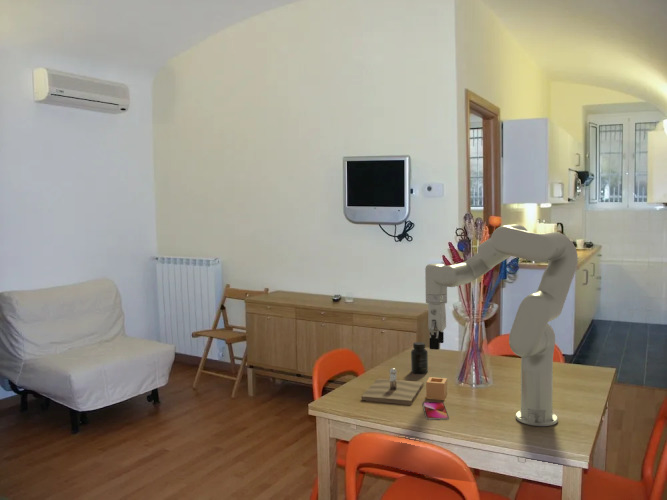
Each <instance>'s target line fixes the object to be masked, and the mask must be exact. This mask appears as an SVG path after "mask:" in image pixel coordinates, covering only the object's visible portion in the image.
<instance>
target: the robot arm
mask: <svg viewBox="0 0 667 500" xmlns="http://www.w3.org/2000/svg"><path fill="white" fill-rule="evenodd" d="M577 251H578V250H577V248H576V246H575V245H574V242H573V241H572V240H571V239H570V237H568V236H567V235H565V234H564V233H561V232H558V231H547V232H543V233H537V232H532V231H528V229H527V228H526V227H524V226H523V225H521V224H517V223H516V224H515V223H514V224H506V225H500V226H499V227H497V228H496V229H495V230H494V231H493V232H492V233H491V237H489V238H488V239H487V240H485V241H483V242H481V243H480V244H479V245H478V246H477V253H475V254H474V255H473V256H471V257H470V258H468V259H467V260H465V261H463V262H460V263H453V264H450V265H446V264H443V263H428V264H427V265H426V266H425V268H424V270H425V271H424V272H425V277H424V279H425V281H424V282H425V304H428V310H427V311H428V312H427V313H428V315H427V316H428V317H427V319H428V322H427V323H428V331H429V350H436V351H437V350H439V349H440V344H443V343H444V342H445V341H444V339H445V338H444V335H445V333H444V331H445V329H446V328H447V313H446V312H447V311H446V304H448V288H455V287H458V286H463V285H468V284H469V283H472V282H474V281H476V280H477V279H479V278H480V277H483V276H484V275H485V274H486V273H488V272H489V271H491V270H492V269H493V268H494V267H495V266H497V265H499V264H500V263H502V262H503V261H505V260H506V259H508V258H510V257H515V258H519V259H523V260H525V261H531V262H536V263H544V262H548V263H547V266H546V268H545V270H544V272H543V273H542V276H541V280H540V282H539V284H538V285H539V286H538V287H537V289H536V291H534V293H530V294H528V295H527V296H525V297H524V298H523V299H522V301H521V302H520V304H519V306H518V309H517V311H516V313H515V318H514V321H513V323H512V327H511V329H510V331H509V337H508V344H509V348H510V349H511V351H512V353H514V354H515V355H516V356H518V357H521V358H520V359H521V361H520V410H518V411H517V412H516V414H515V419H516V420H517V421H518V422H520V423H522V424H525V425H528V426H532V427H550V426H553V425H555V424H557V423H558V420H559V419H558V418H559V417H558V416H557V415H556V414H555V413H553V390H554V389H553V387H554V386H553V381H554V380H553V373H554V371H553V369H554V367H553V365H554V364H553V363H554V352H555V345H556V335H555V331H554V329H553V328H552V326H551V325H550V324H549V322H551V321H554V320H555V319H557V318H559V316H560V315H561V314H562V311H563V309H564V305H565V302H566V300H567V297H568V294H569V291H570V288H571V284H572V281H573V279H574V278H575V274H576V271H577V268H578V259H579V257H578V253H577Z"/></svg>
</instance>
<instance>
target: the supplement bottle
mask: <svg viewBox="0 0 667 500" xmlns="http://www.w3.org/2000/svg"><path fill="white" fill-rule="evenodd" d="M412 343H413V346H412V348H413V349H412V350H411V351H410V364H411V365H410V367H411V368H410V370H411V372H412V373H413V374H415V375H424V374H427V373H428V371H429V357H428V356H429V355H428V354H429V353H428V350H427V349H426V343H425V342H422V341H416V342H412Z"/></svg>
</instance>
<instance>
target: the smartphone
mask: <svg viewBox="0 0 667 500" xmlns="http://www.w3.org/2000/svg"><path fill="white" fill-rule="evenodd" d="M422 409H423V411H424V416H425V419H426V420H430V421H432V420H435V421H437V420H441V421H442V420H445V421H446V420H450V416H449V414H448V411H447V408H446V404H445V402H442V401H423V402H422Z"/></svg>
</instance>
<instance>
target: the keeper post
mask: <svg viewBox="0 0 667 500" xmlns="http://www.w3.org/2000/svg"><path fill="white" fill-rule="evenodd" d="M397 372H398V371H397V369H396V368H395V367H392V368H390V370H389V379H390V389H391V390H396V389H397V380H398V379H397V378H398V377H397Z"/></svg>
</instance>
